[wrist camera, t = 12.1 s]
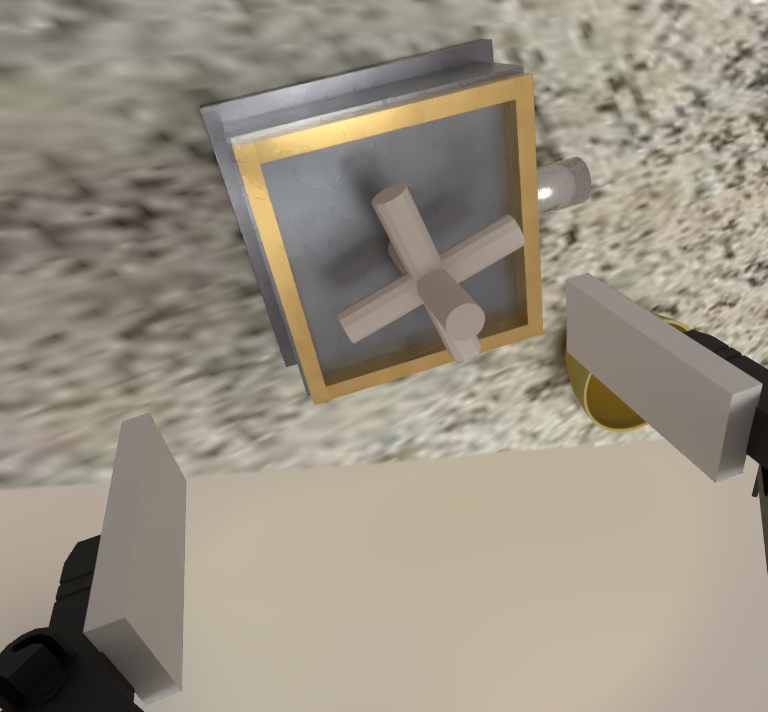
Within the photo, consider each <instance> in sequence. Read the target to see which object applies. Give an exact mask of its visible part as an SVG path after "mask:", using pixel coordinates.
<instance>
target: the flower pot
mask: <svg viewBox="0 0 768 712" xmlns="http://www.w3.org/2000/svg"><path fill="white" fill-rule="evenodd" d="M652 314H654V313H652ZM654 315H655V316H657V317H658V318H660V319H661V320H663V321H665V322H666V323H668V324H669V325H671V326H672V327H674V328H676V329H677V330H679V331H680V332H682V333H684V332H686V331H689V330H691V329H690V328H689V327H687V326H686V325H684V324H682V323H680V322H678V321H676V320H673V319H670V318H668V317H664V316H661V315H658V314H654ZM565 358H566V366H567V371H568V375H569V379H570V382H571V385H572V388H573V390H574V392H575V395H576V397H577V399H578V401H579V402H580V404H581V406H582V407H583V409H584V411H585V412H586V414H587V415H588V416H589V418H590V419H591V420H592V421H593V422H594V423H595V424H596V425H598V426H599V427H601V428H603V429H606V430H610V431H629V430H634V429H637V428H640V427H643V426H645V425H647V424H648V423H647V422H646V421H645V420H644V419H643V418H641V417H640V416H639V415H638V414H637V413H636V412H635V411H633V410H632V409H631V408H630V407H629V406H628V405H627V404H626V403H624V402H623V401H622V400H621V399H620V398H619V397H618V396H617V395H615V394H614V393H613V392H612V391H611V390H610V389H609V388H607V387H606V386H605V385H604V384H603V383H602V382H601V381H600V380H598V379H597V378H596V377H595V376H594V375H593V374H592V373H590V372H589V371H588V370H587V369H586V368H585V367H584V366H583V365H581V364H580V363H579V362H578V361H577V360H576V359H575V358H574V357H572V356H571V355H570V354H569V353H568V352H567V340H566V347H565Z"/></svg>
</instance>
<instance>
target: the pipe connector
mask: <svg viewBox="0 0 768 712" xmlns="http://www.w3.org/2000/svg"><path fill="white" fill-rule="evenodd" d="M372 206H373V208H374V210H375V212H376V213H377V215H378V217H379V219H380V221H381V223H382V225H383V227H384V229H385V231H386V233H387V235H388V237H389V239H390V242H389V245H388V253H389V256H390V257H391V258H392V260H393V261H394V262H395V264H396V265H397V266H398V268H399V269H400V270H401V272H402V273H403V275H401V276H399V277H397V278H396V279H394V280H392V281H391V282H389V283H387V284H385V285H384V286H382V287H380V288H379V289H377V290H375V291H373V292H372V293H370V294H368V295H366V296H365V297H363V298H361V299H360V300H358V301H356V302H354V303H353V304H351V305H349V306H348V307H346V308H344V309H342V310H341V311H339V312H337V313H336V315H337V317H338V320H339V322H340V323H341V325H342V327H343V329H344V330H345V332H346V334H347V335H348V337H349V338H350V340H351V341H352V343H353V344H355V343H356V342H358V341H360V340H361V339H363V338H365V337H367V336H368V335H370V334H372V333H374V332H375V331H377V330H379V329H380V328H382V327H384V326H386V325H387V324H389V323H391V322H393V321H394V320H396V319H398V318H400V317H401V316H403V315H405V314H406V313H408V312H410V311H412V310H413V309H415V308H417V307H419V306H420V305H422V304H424V306H425V308H426V310H427V312H428V314H429V316H430V318H431V320H432V321H433V323H434V325H435V327H436V329H437V331H438V333H439V335H440V337H441V339H442V341H443V343H444V345H445V346H446V348H447V350H448V352H449V354H450V356H451V358H452V359H453V360H455V361H456V362H464V361H467V360H470V359H472V358H474V357H475V356H476V355H477V354H478V353H479V352H480V350H481V343H480V341H479V339H478V336H477V334H478V333H479V332H480V331H481V329H482V328H483V326H484V322H485V315H484V312H483V310H482V309H481V308H480V306H479V305H478V304H477V303H476V302H475V301H474V300H473V299H472V298H471V297H470V296H469V295H468V294H467V293H466V291H465V290H464V289H463V288H462V287H461V286H460V285H459V284H458V283H460V282H462V281H464V280H465V279H467V278H469V277H470V276H472V275H474V274H476V273H477V272H479V271H481V270H483V269H484V268H486V267H488V266H489V265H491V264H493V263H495V262H496V261H498V260H500V259H502V258H503V257H505V256H507V255H508V254H510V253H512V252H514V251H515V250H517V249H519V248H521V247H522V246H524V244H525V240H524V236H523V234H522V231H521V229H520V227H519V226H518V224H517V223H516V221H515V219H514V218H513V217H512V216H511V215H509V214H506V215H504V216H502V217H501V218H499V219H497V220H496V221H494V222H492V223H490V224H489V225H487V226H485V227H483V228H482V229H480V230H478V231H477V232H475V233H473V234H471V235H470V236H468V237H466V238H465V239H463V240H461V241H459V242H458V243H456V244H454V245H453V246H451V247H449V248H447V249H446V250H444V251H442V252H440V253H438V251H437V249H436V247H435V245H434V243H433V241H432V239H431V236H430V234H429V232H428V230H427V228H426V226H425V224H424V222H423V219H422V217H421V215H420V213H419V211H418V209H417V207H416V205H415V202H414V200H413V198H412V196H411V194H410V192H409V190H408V188H407V185H406V184H403V183H399V184H395V185H392V186H390V187H388V188H386V189H384V190H382V191H381V192H380V193H378V194H377V195H376V196H375V197H374V198H373V199H372Z"/></svg>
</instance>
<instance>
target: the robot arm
mask: <svg viewBox="0 0 768 712" xmlns="http://www.w3.org/2000/svg"><path fill="white" fill-rule="evenodd" d="M566 310H567V352H568V353H569V354H570V355H571V356H572V357H574V358H575V359H576V360H577V361H578V362H579V363H580V364H581V365H583V366H584V367H585V368H586V369H587V370H588V371H589V372H590V373H592V374H593V375H594V376H595V377H596V378H597V379H598V380H600V381H601V382H602V383H603V384H604V385H605V386H606V387H607V388H609V389H610V390H611V391H612V392H613V393H614V394H615V395H617V396H618V397H619V398H620V399H621V400H622V401H623V402H624V403H626V404H627V405H628V406H629V407H630V408H631V409H632V410H633V411H635V412H636V413H637V414H638V415H639V416H640V417H641V418H643V419H644V420H645V421H646V422H647V423H648V424H649V425H650V426H652V427H653V428H654V429H655V430H656V431H657V432H658V433H660V434H661V435H662V436H663V437H664V438H665V439H666V440H668V441H669V442H670V443H671V444H672V445H673V446H674V447H675V448H676V449H678V450H679V451H680V452H681V453H682V454H683V455H684V456H686V457H687V458H688V459H689V460H690V461H691V462H693V464H695V465H696V466H697V467H698V468H699V469H700V470H701V471H702V472H704V473H705V474H706V475H707V476H708V477H709V478H710V479H712V480H713V481H714V482H715V483H717V482H720V481H722V480H725V479H727V478H730V477H732V476H735V475H738V474H740V473H743V468H744V464H745V460H746V455H749V456H750V457H751V458H753V459H754V460H755V461H756V462H758V463H759V468H758V472H757V477H756V480H755V484H754V488H753V493H752V496H753V497H757V496H758V492H759V498H760V507H761V516H762V526H763V535H764V544H765V554H766V563H767V572H768V369H766V368H765V367H763V366H761V365H760V364H758V363H756V362H755V361H753V360H751V359H750V358H748V357H746V356H745V355H744V356H742V355H741V353H740V352H738V351H737V350H735V349H733V348H732V347H731V348H729V347H728V345H727V344H725V343H723V342H722V341H720V340H718V339H717V338H715V337H713V336H711V335H708V334H705V333H701V332H698V331H695V330H689V331H686V332H684V333H682V332H680V331H679V330H677V329H676V328H674V327H672V326H671V325H669V324H668V323H666V322H665V321H663V320H661V319H660V318H658V317H657V316H655V315H654V314H652V313H650V312H649V311H647V310H646V309H644V308H643V307H641V306H639V305H638V304H636V303H635V302H633V301H632V300H630V299H628V298H627V297H625V296H624V295H622V294H621V293H619V292H617V291H616V290H614V289H613V288H611V287H609V286H608V285H606V284H605V283H603V282H602V281H600V280H598V279H597V278H595V277H594V276H592V275H591V274H589V273H586V274H582V275H579V276H576V277H573V278H570V279H567V280H566ZM185 513H186V479H185V478H184V476H183V474H182V472H181V470H180V468H179V467H178V465H177V463H176V461H175V459H174V457H173V455H172V454H171V452H170V450H169V448H168V446H167V444H166V443H165V441H164V439H163V437H162V435H161V433H160V432H159V430H158V428H157V426H156V424H155V422H154V421H153V419H152V417H151V415H150V413H148V414H144V415H141V416H138V417H135V418H132V419H129V420H126V421H123V422H122V425H121V431H120V436H119V442H118V447H117V452H116V458H115V463H114V469H113V474H112V479H111V485H110V490H109V495H108V501H107V506H106V512H105V518H104V522H103V528H102V533H101V535H98V536H95V537H92V538H89V539H87V540H84V541H81V542H78V543H77V544H76V546H75V547H74V549H73V550H72V552H71V553H70V555H69V556H68V558H67V560H66V561H65V563H64V566H63V570H62V574H61V579H60V586H59V587H58V591H57V595H56V602H55V603H54V607H53V611H52V615H51V619H50V623H49V627H46V628H38V629H34V630H32V631H30V632H27V633H25V634H23V635H21V636H20V637H18V638H17V639H16V640H14V641H13V642H12V643H10V644H9V645H8V646H7V647H6V648H5V649H4V650H3V651H2V652H1V653H0V708H1V709H2V711H1V712H144V711H143V710H142V709H140V708H139V707H138V706H137V705H136V704H135V703H134V702H133V701H134V692H135V693H136V694H137V695H138V697H139V698H140V699H141V700H142V701H143V702H144V703H145V704H149V703H151V702H154V701H157V700H159V699H162V698H164V697H167V696H169V695H172V694H175V693H177V692H180V691H182V657H183V656H182V654H183V609H184V607H183V606H184V562H185V516H186V514H185Z"/></svg>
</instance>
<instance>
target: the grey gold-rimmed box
mask: <svg viewBox="0 0 768 712" xmlns="http://www.w3.org/2000/svg"><path fill="white" fill-rule="evenodd" d="M200 111H201V114H202V117H203V120H204V123H205V126H206V129H207V131H208V134H209V137H210V140H211V143H212V146H213V149H214V152H215V155H216V158H217V161H218V164H219V167H220V170H221V173H222V176H223V179H224V182H225V185H226V188H227V191H228V194H229V197H230V200H231V203H232V206H233V209H234V212H235V215H236V218H237V221H238V224H239V227H240V230H241V233H242V236H243V239H244V242H245V245H246V248H247V251H248V254H249V257H250V260H251V263H252V266H253V269H254V272H255V275H256V278H257V281H258V284H259V287H260V290H261V293H262V296H263V299H264V301H265V304H266V307H267V310H268V313H269V316H270V319H271V322H272V325H273V328H274V331H275V334H276V337H277V340H278V343H279V346H280V349H281V352H282V355H283V358H284V361H285V364H286V367H288V366H291V365H295V364H298V367H299V370H300V374H301V377H302V380H303V383H304V386H305V389H306V392H307V395H308V396H309V395H311V397H312V400H313V403H314V404H318V403H321V402H324V401H327V400H331V399H334V398H337V397H340V396H343V395H347V394H350V393H353V392H356V391H359V390H363V389H366V388H369V387H372V386H376V385H379V384H382V383H385V382H388V381H392V380H395V379H398V378H401V377H404V376H408V375H411V374H414V373H417V372H421V371H424V370H427V369H430V368H433V367H437V366H440V365H443V364H446V363H449V362H453V361H455V360H453V359H452V358H451V356H450V354H449V352H448V350H447V348H446V346H445V345H444V343H443V341H442V339H441V337H440V335H439V333H438V331H437V329H436V327H435V325H434V323H433V321H432V320H431V318H430V316H429V314H428V312H427V310H426V308H425V306H424V304H422V305H420V306H419V307H417V308H415V309H413V310H412V311H410V312H408V313H406V314H405V315H403V316H401V317H400V318H398V319H396V320H394V321H393V322H391V323H389V324H387V325H386V326H384V327H382V328H380V329H379V330H377V331H375V332H374V333H372V334H370V335H368V336H367V337H365V338H363V339H361V340H360V341H358V342H356V343H355V344H353V343H352V341H351V340H350V338H349V337H348V335H347V334H346V332H345V330H344V329H343V327H342V325H341V323H340V322H339V320H338V317H337V315H336V313H337V312H339V311H341V310H342V309H344V308H346V307H348V306H349V305H351V304H353V303H354V302H356V301H358V300H360V299H361V298H363V297H365V296H366V295H368V294H370V293H372V292H373V291H375V290H377V289H379V288H380V287H382V286H384V285H385V284H387V283H389V282H391V281H392V280H394V279H396V278H397V277H399V276H401V275H403V273H402V272H401V270H400V269H399V268H398V266H397V265H396V264H395V262H394V261H393V260H392V258H391V257H390V256H389V253H388V245H389V242H390V239H389V237H388V235H387V233H386V231H385V229H384V227H383V225H382V223H381V221H380V219H379V217H378V215H377V213H376V212H375V210H374V208H373V206H372V199H373V198H374V197H375V196H376V195H377V194H378V193H380V192H381V191H382V190H384V189H386V188H388V187H390V186H392V185H395V184H399V183H403V184H406V185H407V188H408V190H409V192H410V194H411V196H412V198H413V200H414V202H415V205H416V207H417V209H418V211H419V213H420V215H421V217H422V219H423V222H424V224H425V226H426V228H427V230H428V232H429V234H430V236H431V239H432V241H433V243H434V245H435V247H436V249H437V251H438V253H440V252H442V251H444V250H446V249H447V248H449V247H451V246H453V245H454V244H456V243H458V242H459V241H461V240H463V239H465V238H466V237H468V236H470V235H471V234H473V233H475V232H477V231H478V230H480V229H482V228H483V227H485V226H487V225H489V224H490V223H492V222H494V221H496V220H497V219H499V218H501V217H502V216H504V215H506V214H509V215H511V216H512V217H513V218H514V219H515V221H516V223H517V224H518V226H519V227H520V229H521V231H522V234H523V236H524V240H525V244H524V246H522V247H521V248H519V249H517V250H515V251H514V252H512V253H510V254H508V255H507V256H505V257H503V258H502V259H500V260H498V261H496V262H495V263H493V264H491V265H489V266H488V267H486V268H484V269H483V270H481V271H479V272H477V273H476V274H474V275H472V276H470V277H469V278H467V279H465V280H464V281H462V282H460V283H458V284H459V285H460V286H461V287H462V288H463V289H464V290H465V291H466V293H467V294H468V295H469V296H470V297H471V298H472V299H473V300H474V301H475V302H476V303H477V304H478V305H479V306H480V308H481V309H482V310H483V312H484V315H485V322H484V326H483V328H482V329H481V331H480V332H479V333H478V334H477V336H478V339H479V341H480V343H481V350H480V352H479V353H482V352H485V351H488V350H491V349H494V348H498V347H501V346H504V345H507V344H511V343H514V342H517V341H520V340H523V339H527V338H530V337H533V336H536V335H539V334H543V320H542V294H541V269H540V243H539V218H538V216H539V215H542V214H546V213H549V212H553V211H556V210H560V209H563V208H567V207H570V206H574V205H578V204H581V203H584V202H586V201H587V199H588V198H589V195H590V191H591V178H590V173H589V170H588V168H587V166H586V164H585V162H584V161H583V160H582V159H581V158H579V157H573V158H569V159H565V160H562V161H558V162H554V163H551V164H547V165H543V166H539V167H536V142H535V116H534V91H533V74H531V73H524V69H523V66H520V65H511V64H501V63H494V62H493V48H492V39H481V40H477V41H473V42H468V43H464V44H460V45H456V46H451V47H447V48H443V49H439V50H434V51H430V52H426V53H422V54H418V55H413V56H409V57H405V58H401V59H396V60H392V61H388V62H384V63H379V64H375V65H371V66H367V67H362V68H358V69H354V70H350V71H345V72H341V73H337V74H333V75H329V76H324V77H320V78H316V79H312V80H307V81H303V82H299V83H295V84H290V85H286V86H282V87H278V88H273V89H269V90H265V91H261V92H257V93H252V94H248V95H244V96H240V97H235V98H231V99H227V100H223V101H218V102H214V103H210V104H206V105H201V106H200Z"/></svg>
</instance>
